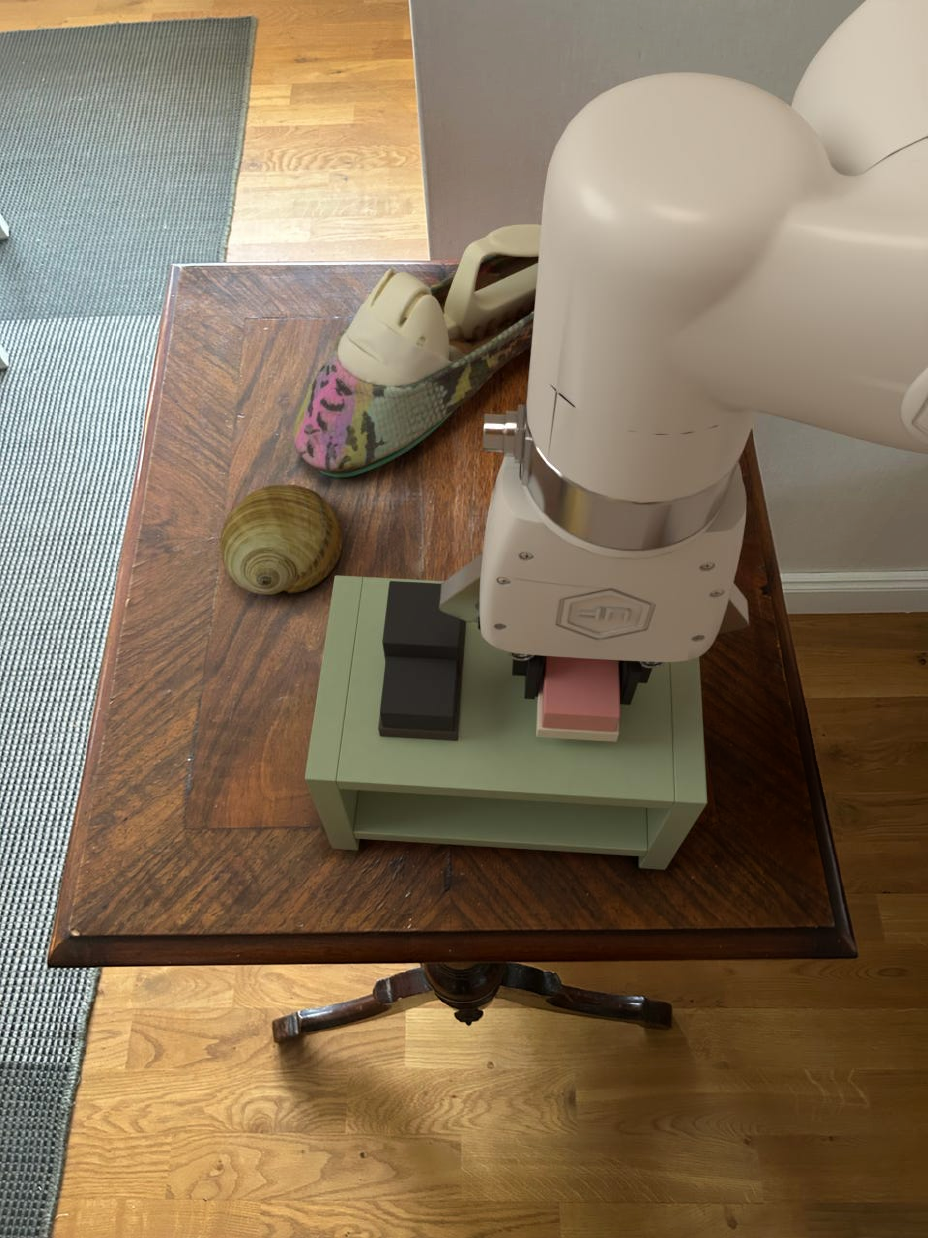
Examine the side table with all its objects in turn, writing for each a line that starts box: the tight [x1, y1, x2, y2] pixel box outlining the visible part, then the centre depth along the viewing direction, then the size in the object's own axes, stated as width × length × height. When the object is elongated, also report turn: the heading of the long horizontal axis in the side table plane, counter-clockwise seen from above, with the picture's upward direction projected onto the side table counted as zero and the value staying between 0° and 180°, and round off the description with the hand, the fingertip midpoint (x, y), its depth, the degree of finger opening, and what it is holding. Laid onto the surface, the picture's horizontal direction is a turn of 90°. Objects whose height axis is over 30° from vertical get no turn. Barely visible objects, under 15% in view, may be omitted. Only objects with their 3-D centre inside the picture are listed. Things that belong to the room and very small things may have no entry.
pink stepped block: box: [536, 656, 621, 742], centre depth 50 cm, size 7×4×4 cm, turn 176°
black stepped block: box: [378, 581, 466, 741], centre depth 51 cm, size 7×4×4 cm, turn 176°
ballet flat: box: [294, 221, 542, 478], centre depth 75 cm, size 10×30×11 cm, turn 129°
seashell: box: [219, 484, 343, 596], centre depth 69 cm, size 10×7×8 cm
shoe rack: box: [304, 575, 708, 871], centre depth 58 cm, size 20×12×12 cm, turn 86°
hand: (577, 674), depth 52 cm, fingers closed on pink stepped block, 4 cm apart
